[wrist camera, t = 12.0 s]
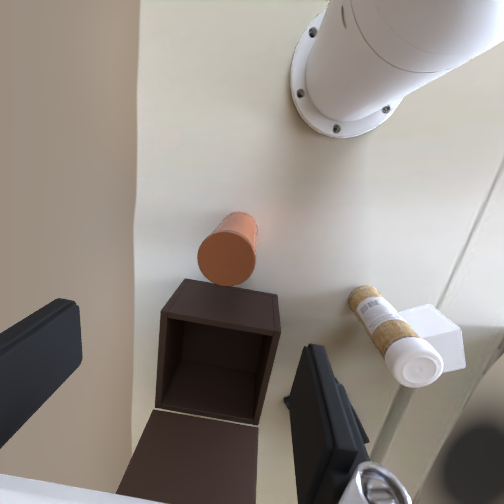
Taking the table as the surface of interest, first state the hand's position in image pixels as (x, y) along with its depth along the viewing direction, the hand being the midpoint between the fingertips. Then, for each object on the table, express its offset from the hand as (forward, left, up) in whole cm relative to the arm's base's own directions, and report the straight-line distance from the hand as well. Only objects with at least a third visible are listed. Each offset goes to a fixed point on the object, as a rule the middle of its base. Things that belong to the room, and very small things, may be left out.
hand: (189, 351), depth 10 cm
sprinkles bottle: (+7, +19, -24) cm, 32 cm away
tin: (+1, 0, -24) cm, 24 cm away
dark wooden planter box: (+16, 0, -24) cm, 29 cm away
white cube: (+10, +27, -24) cm, 38 cm away
